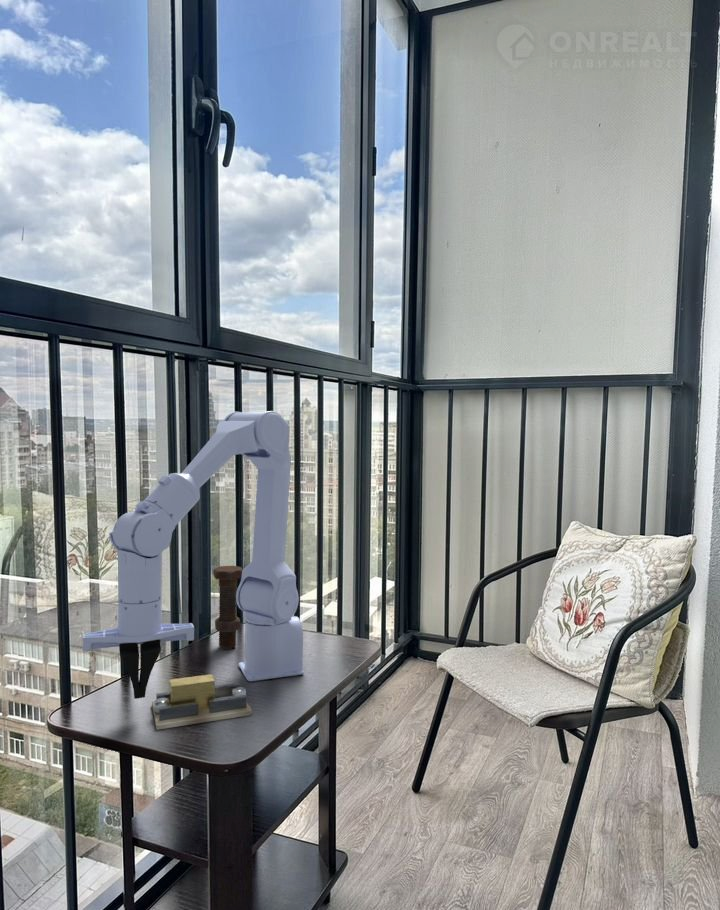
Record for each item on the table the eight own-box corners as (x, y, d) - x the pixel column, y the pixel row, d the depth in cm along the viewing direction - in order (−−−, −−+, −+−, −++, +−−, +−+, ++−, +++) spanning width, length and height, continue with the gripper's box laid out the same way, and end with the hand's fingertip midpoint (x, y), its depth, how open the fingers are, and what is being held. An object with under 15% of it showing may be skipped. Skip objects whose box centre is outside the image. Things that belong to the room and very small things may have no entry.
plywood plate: (240, 693, 96) (240, 689, 96) (251, 714, 89) (251, 710, 89) (152, 705, 91) (152, 701, 91) (156, 729, 84) (156, 725, 84)
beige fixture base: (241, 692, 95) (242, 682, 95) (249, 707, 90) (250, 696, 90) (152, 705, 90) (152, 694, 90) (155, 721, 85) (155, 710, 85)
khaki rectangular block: (211, 700, 92) (211, 674, 92) (214, 708, 89) (214, 680, 89) (169, 707, 89) (169, 679, 89) (171, 714, 87) (171, 686, 87)
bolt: (231, 640, 121) (231, 564, 120) (248, 646, 117) (249, 567, 117) (206, 648, 116) (207, 568, 116) (223, 654, 113) (224, 572, 112)
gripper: (190, 588, 93) (189, 677, 93) (83, 595, 87) (83, 691, 87) (196, 599, 86) (195, 696, 87) (82, 609, 81) (81, 712, 81)
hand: (139, 695), depth 87 cm, fingers closed
